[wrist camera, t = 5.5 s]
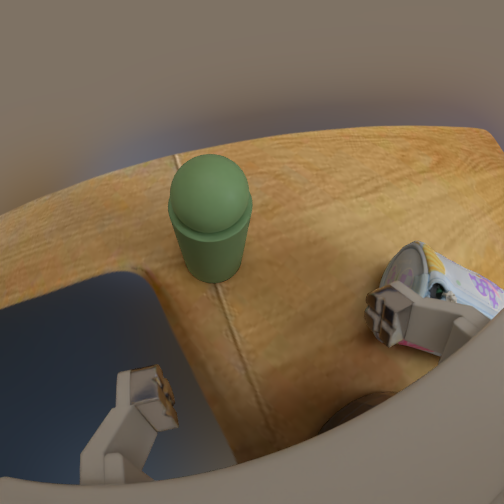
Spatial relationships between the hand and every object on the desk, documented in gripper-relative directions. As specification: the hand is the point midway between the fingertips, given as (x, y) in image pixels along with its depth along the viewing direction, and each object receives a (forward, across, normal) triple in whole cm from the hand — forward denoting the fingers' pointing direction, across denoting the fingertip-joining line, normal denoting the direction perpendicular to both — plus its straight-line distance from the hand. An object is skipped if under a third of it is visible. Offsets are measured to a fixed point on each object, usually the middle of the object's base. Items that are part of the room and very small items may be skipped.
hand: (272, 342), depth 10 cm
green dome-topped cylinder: (+15, 0, +3) cm, 16 cm away
